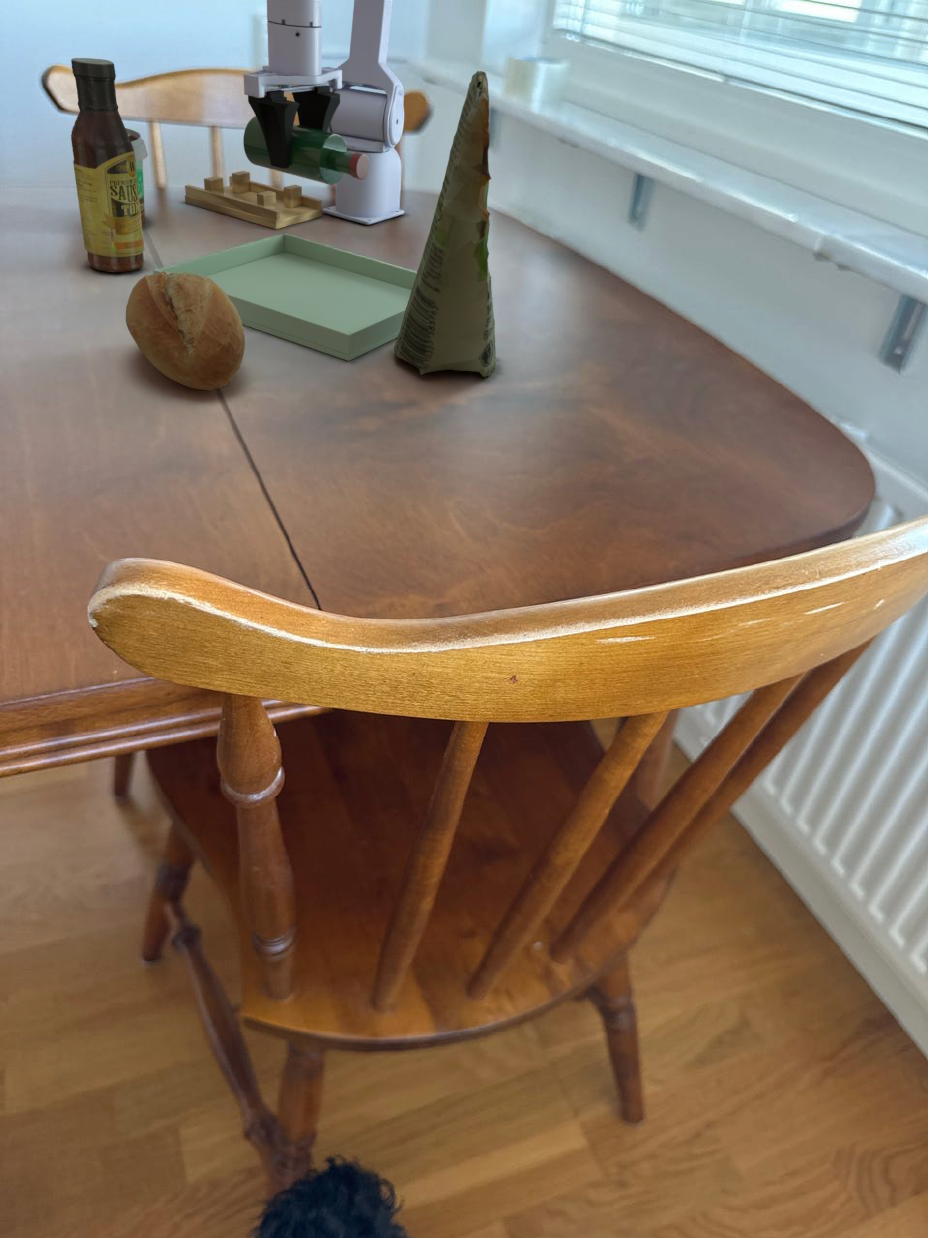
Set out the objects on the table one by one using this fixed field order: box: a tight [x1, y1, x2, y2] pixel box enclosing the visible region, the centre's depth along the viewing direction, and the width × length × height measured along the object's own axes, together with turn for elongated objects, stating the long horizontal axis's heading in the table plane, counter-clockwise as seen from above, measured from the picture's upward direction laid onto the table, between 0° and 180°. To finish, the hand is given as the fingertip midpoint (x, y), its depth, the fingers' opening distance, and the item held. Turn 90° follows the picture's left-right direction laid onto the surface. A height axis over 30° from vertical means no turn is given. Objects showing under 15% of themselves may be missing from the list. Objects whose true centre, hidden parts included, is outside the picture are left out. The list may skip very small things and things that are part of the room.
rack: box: [184, 170, 323, 230], centre depth 123 cm, size 10×16×4 cm, turn 60°
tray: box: [152, 232, 418, 362], centre depth 97 cm, size 21×25×3 cm
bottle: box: [242, 115, 370, 186], centre depth 102 cm, size 5×15×5 cm, turn 59°
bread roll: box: [125, 271, 246, 391], centre depth 79 cm, size 10×15×8 cm, turn 29°
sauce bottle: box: [70, 57, 145, 273], centre depth 95 cm, size 7×6×20 cm
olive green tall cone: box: [393, 70, 497, 378], centre depth 81 cm, size 11×12×25 cm
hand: (296, 163), depth 103 cm, fingers closed on bottle, 5 cm apart
